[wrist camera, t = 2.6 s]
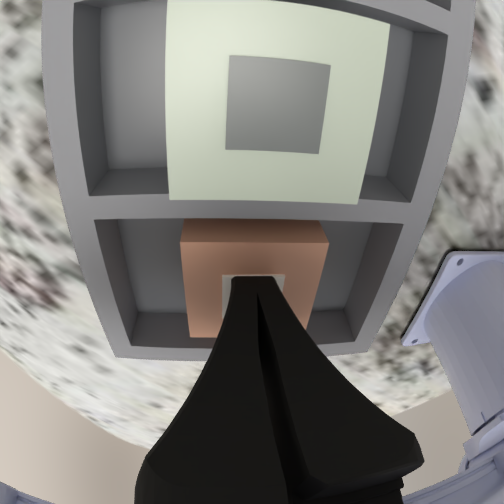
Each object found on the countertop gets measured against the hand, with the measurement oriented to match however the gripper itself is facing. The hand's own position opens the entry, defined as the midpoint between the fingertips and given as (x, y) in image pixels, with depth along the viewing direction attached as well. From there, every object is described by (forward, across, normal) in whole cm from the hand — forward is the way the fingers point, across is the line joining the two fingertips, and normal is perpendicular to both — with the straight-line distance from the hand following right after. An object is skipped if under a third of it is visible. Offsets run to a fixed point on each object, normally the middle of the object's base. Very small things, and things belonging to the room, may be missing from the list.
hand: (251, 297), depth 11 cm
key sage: (+1, 0, -6) cm, 7 cm away
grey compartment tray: (+4, 0, -6) cm, 7 cm away
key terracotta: (+2, 0, 0) cm, 2 cm away
